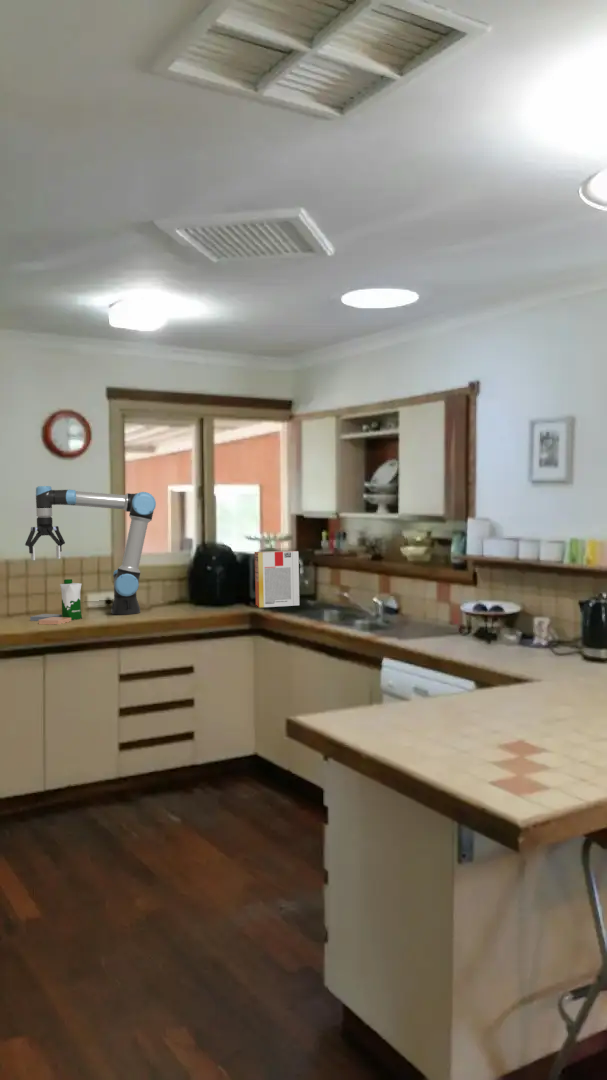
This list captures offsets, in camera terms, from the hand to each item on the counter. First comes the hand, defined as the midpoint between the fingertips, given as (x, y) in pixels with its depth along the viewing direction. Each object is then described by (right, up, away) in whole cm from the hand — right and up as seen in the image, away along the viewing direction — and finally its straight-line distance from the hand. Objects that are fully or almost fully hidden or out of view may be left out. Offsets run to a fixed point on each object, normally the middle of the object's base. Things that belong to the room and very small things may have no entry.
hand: (45, 559), depth 427 cm
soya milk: (+12, -31, +3) cm, 33 cm away
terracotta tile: (+7, -31, -9) cm, 33 cm away
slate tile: (-1, -31, +4) cm, 31 cm away
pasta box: (+115, -27, +45) cm, 126 cm away
